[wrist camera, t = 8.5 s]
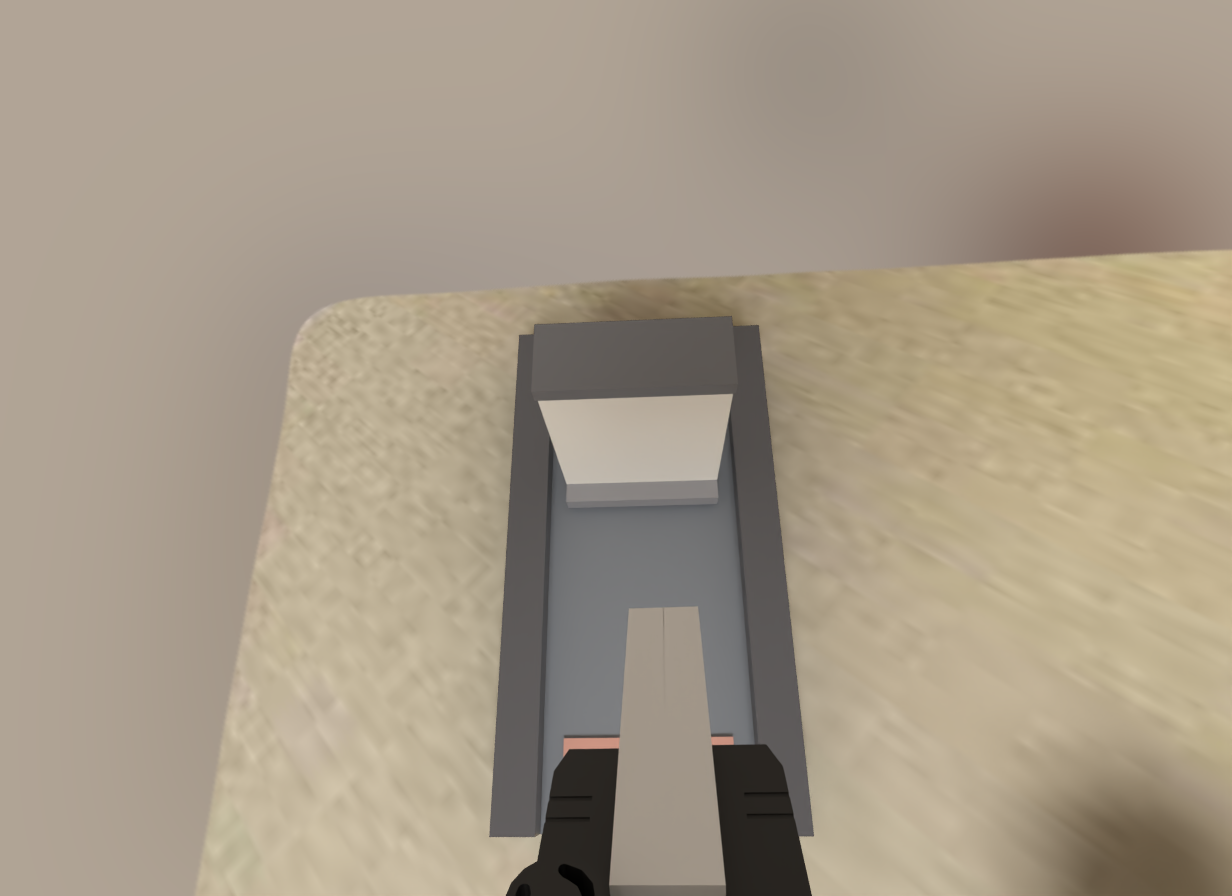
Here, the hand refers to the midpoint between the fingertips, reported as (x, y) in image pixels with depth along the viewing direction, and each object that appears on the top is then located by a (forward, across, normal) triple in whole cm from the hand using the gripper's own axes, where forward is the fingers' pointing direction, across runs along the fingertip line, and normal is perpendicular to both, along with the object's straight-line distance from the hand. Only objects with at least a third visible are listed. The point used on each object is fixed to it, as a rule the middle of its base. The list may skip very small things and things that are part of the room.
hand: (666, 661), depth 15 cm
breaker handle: (+23, -1, -4) cm, 24 cm away
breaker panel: (+21, -1, -9) cm, 23 cm away
